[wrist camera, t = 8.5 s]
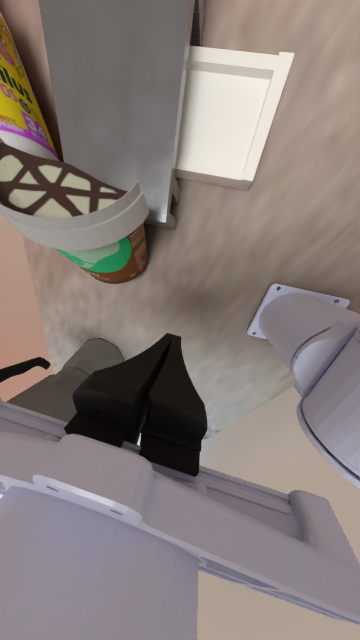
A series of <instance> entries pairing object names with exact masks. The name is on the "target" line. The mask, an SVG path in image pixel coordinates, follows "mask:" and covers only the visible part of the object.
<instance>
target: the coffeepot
mask: <svg viewBox="0 0 360 640" xmlns="http://www.w3.org/2000/svg"><path fill="white" fill-rule="evenodd" d="M123 361H124V360H123V357H122V354H121V352H120V351H119V350H118V348H117V347H116V346H114V345H113V344H112V343H110V342H108V341H106V340H103V339H92V340H87V341H86V342H85V343H84V344H83V345H82V347H81V348H80V349H79V350H78V351H77V352H76V353H75V354H74V355H73V356H72V357H71V358H70V359H69V360H68V361H67V362H66V363H65V364H64V366H63V369H62V370H61V371H59V372H58V373H57V374H54V375H50V376H48V377H46V378H44V379H43V380H41V381H40V382H38V383H36V384H35V385H33V386H31V387H30V388H28V389H27V390H25V391H23V392H22V393H20V394H18V395H17V396H15V397H14V398H12V399H10V400H9V401H7V403H10V404H13V405H16V406H19V407H22V408H25V409H28V410H31V411H34V412H37V413H40V414H43V415H46V416H50V417H53V418H56V419H59V420H62V421H65V422H68V423H69V421H70V420H71V419H72V418H73V416H74V415H75V414H76V413H77V411H76V408H75V405H74V402H73V397H72V395H73V392H74V391H75V390H76V389H77V388H78V387H79V386H80V385H81V383H82V382H83V381H84V380H85V379H86V378H87V377H88V376H90V375H91V374H92V373H93V372H94V371H97V370H101V369H104V368H107V367H111V366H114V365H116V364H119V363H122V362H123ZM35 366H41V367H43V368H45V369H48V368H49V366H50V363H49V362H48V361H46V360H45V359H43V358H41V357H38V358H34V359H31V360H28V361H25V362H22V363H19V364H15V365H13V366H9V367H6V368H3V369H0V382H2V381H4V380H6V379H8V378H10V377H12V376H15V375H19V374H22V373H24V372H26V371H28V370H30V369H31V368H33V367H35Z"/></svg>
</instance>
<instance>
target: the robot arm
mask: <svg viewBox="0 0 360 640" xmlns="http://www.w3.org/2000/svg"><path fill="white" fill-rule="evenodd" d="M277 287H280V288H279V289H278V290H277ZM335 300H336V301H335ZM334 301H335V302H334ZM349 303H350V300H348V299H345V298H340V297H336V296H331V295H327V294H322V293H317V292H313V291H308V290H304V289H299V288H295V287H290V286H286V285H281V284H277V283H273V284H271V285H270V287H269V289H268V291H267V293H266V294H265V296H264V298H263V300H262V302H261V304H260V306H259V308H258V310H257V312H256V314H255V316H254V318H253V320H252V322H251V324H250V326H249V328H248V330H247V334H248V335H251V336H255V337H259V338H263V339H267V340H268V341H269V342H270V344H271V345H272V346H273V348H274V349H275V351H276V352H277V353H278V355H279V356H280V358H281V359H282V360H283V362H284V363H285V365H286V366H287V367H288V369H289V370H290V372H291V373H292V374H293V376H294V377H295V380H296V383H295V386H294V387H295V388H296V390H297V391H298V393H299V394H300V396H301V397H302V398H303V399H301V400H300V402H299V404H298V406H297V416H298V420H299V423H300V425H301V427H302V429H303V431H304V433H305V434H306V436H307V437H308V439H309V440H310V442H311V443H312V445H313V446H314V447H315V448H316V449H317V451H318V452H319V453H320V454H321V455H322V456H323V457H324V458H325V460H326V461H327V462H328V463H329V464H330V465H331V466H332V467H334V468H335V469H336V470H337V471H338V472H339V473H340V474H341V475H342V476H344V477H345V478H346V479H347V480H349V481H350V482H351V483H352V484H354V485H355V486H356V487H358V488H359V489H360V314H359V313H356V312H353V311H351V310H348V309H346V307H347V306H348V305H349ZM253 332H255V333H254V334H253ZM72 397H73V402H74V405H75V408H76V411H77V413H76V414H75V415H74V416H73V418H72V419H71V420H70V421H69V423H68V422H65V421H62V420H59V419H56V418H53V417H50V416H46V415H43V414H40V413H37V412H34V411H31V410H28V409H25V408H22V407H19V406H16V405H13V404H10V403H7V402H4V401H1V399H0V494H3V497H2V498H1V499H0V640H197V606H198V604H197V603H198V570H200V571H203V572H206V573H208V574H211V575H214V576H217V577H220V578H222V579H225V580H228V581H231V582H234V583H237V584H239V585H242V586H245V587H248V588H251V589H253V590H256V591H259V592H262V593H265V594H268V595H270V596H273V597H276V598H279V599H281V600H284V601H287V602H290V603H292V604H295V605H298V606H300V607H303V608H306V609H308V610H312V611H314V612H317V613H319V614H322V615H324V616H327V617H330V618H332V619H336V620H340V621H344V622H348V623H352V624H355V625H360V564H359V562H358V560H357V558H356V556H355V554H354V552H353V550H352V548H351V546H350V544H349V542H348V540H347V538H346V536H345V534H344V532H343V530H342V528H341V526H340V524H339V522H338V520H337V518H336V516H335V514H334V511H333V509H332V507H331V506H330V503H329V502H328V500H327V499H326V498H323V497H320V496H317V495H314V494H311V493H308V492H305V491H300V490H295V491H292V492H290V493H289V494H285V493H282V492H279V491H276V490H273V489H270V488H267V487H264V486H261V485H258V484H254V483H252V482H248V481H246V480H242V479H239V478H236V477H233V476H230V475H227V474H224V473H221V472H218V471H215V470H212V469H208V468H206V467H202V466H200V465H199V455H200V451H201V440H202V439H203V437H204V435H205V434H206V432H207V416H206V411H205V406H204V403H203V401H202V400H201V398H200V397H199V395H198V393H197V391H196V389H195V388H194V386H193V384H192V381H191V379H190V377H189V375H188V372H187V370H186V367H185V363H184V360H183V355H182V350H181V337H180V336H176V335H172V334H168V333H167V334H165V335H164V336H163V337H162V338H161V339H160V340H159V341H158V342H156V343H155V344H154V345H152V346H151V347H150V348H148V349H147V350H145V351H144V352H142V353H140V354H138V355H137V356H135V357H133V358H131V359H129V360H126V361H124V362H122V363H119V364H116V365H114V366H111V367H107V368H104V369H101V370H97V371H94V372H93V373H92V374H91V375H90V376H88V377H87V378H86V379H85V380H84V381H83V382H82V383H81V385H80V386H79V387H78V388H77V389H76V390H75V391H74V392H73V395H72ZM140 433H141V441H140V446H138V445H137V442H138V439H139V436H140Z"/></svg>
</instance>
